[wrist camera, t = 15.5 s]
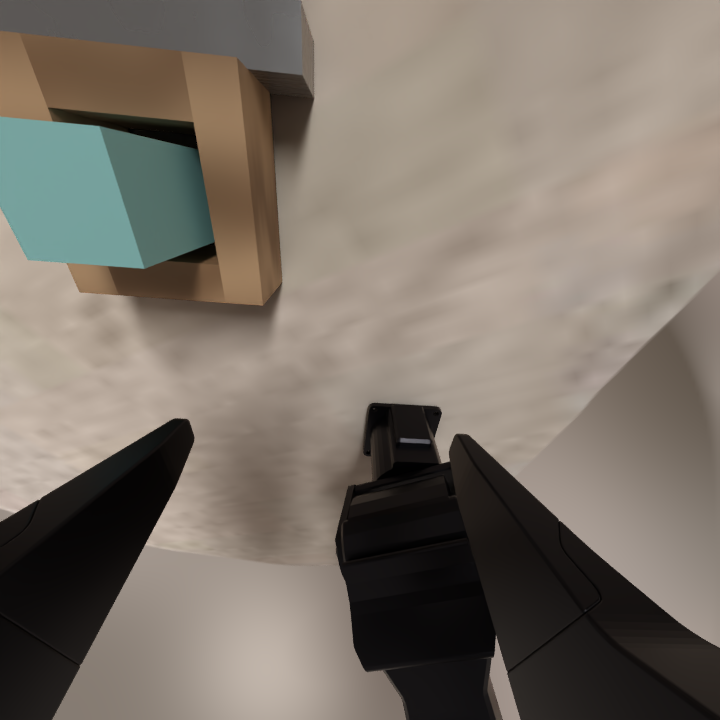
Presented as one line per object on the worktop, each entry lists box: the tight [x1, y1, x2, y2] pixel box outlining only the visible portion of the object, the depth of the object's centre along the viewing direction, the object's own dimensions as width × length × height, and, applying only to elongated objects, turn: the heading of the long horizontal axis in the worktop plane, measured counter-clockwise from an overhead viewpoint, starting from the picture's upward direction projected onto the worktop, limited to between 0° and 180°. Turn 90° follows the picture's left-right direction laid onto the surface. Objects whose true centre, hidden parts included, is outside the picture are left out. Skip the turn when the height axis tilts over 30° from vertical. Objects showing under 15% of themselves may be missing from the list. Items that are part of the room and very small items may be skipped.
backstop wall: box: [0, 0, 314, 98], centre depth 12 cm, size 2×14×4 cm, turn 86°
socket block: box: [0, 31, 282, 306], centre depth 15 cm, size 10×10×4 cm
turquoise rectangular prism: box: [0, 117, 215, 269], centre depth 13 cm, size 4×4×9 cm
